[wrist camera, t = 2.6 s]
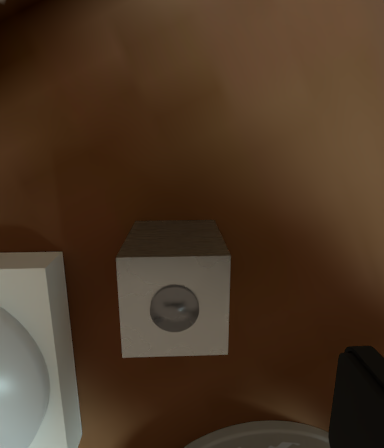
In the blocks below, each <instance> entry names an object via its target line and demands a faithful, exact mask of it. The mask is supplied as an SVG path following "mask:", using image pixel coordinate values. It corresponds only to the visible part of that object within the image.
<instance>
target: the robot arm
mask: <svg viewBox="0 0 384 448" xmlns="http://www.w3.org/2000/svg"><path fill="white" fill-rule="evenodd" d="M328 438H329V444H330V448H384V358H383V357H382V356H381V355H380V354H379V353H378V352H377V351H376V350H375V349H374V348H373V347H371V346H352V347H347V348H346V349H345V352H344V353H341V354H340V355H339V359H338V367H337V374H336V382H335V389H334V397H333V404H332V412H331V419H330V426H329V434H328Z"/></svg>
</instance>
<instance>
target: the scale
mask: <svg viewBox="0 0 384 448" xmlns="http://www.w3.org/2000/svg"><path fill="white" fill-rule="evenodd" d="M81 436H82V427H81V418H80V408H79V399H78V390H77V381H76V372H75V362H74V353H73V344H72V335H71V326H70V317H69V307H68V298H67V289H66V280H65V271H64V261H63V252H10V253H0V448H78V446H79V442H80V439H81Z"/></svg>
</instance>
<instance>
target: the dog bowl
mask: <svg viewBox="0 0 384 448" xmlns="http://www.w3.org/2000/svg"><path fill="white" fill-rule="evenodd" d="M328 434H329V433H328V432H326V431H324V430H322V429H319V428H316V427H313V426H310V425H306V424H301V423H296V422H289V421H255V422H247V423H242V424H237V425H233V426H229V427H226V428H222V429H220V430H217V431H214V432H212V433H209V434H207V435H205V436H203V437H201V438H199V439H197V440H195V441H193V442H191V443H190V444H188V445H186V446H185V447H184V448H330V444H329V438H328Z"/></svg>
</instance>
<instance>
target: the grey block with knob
mask: <svg viewBox="0 0 384 448" xmlns="http://www.w3.org/2000/svg"><path fill="white" fill-rule="evenodd" d="M230 266H231V255H230V253H229V251H228V249H227V246H226V244H225V242H224V240H223V238H222V235H221V233H220V231H219V229H218V227H217V225H216V222H215V220H167V221H135V223H134V225H133V226H132V228H131V230H130V232H129V234H128V236H127V238H126V240H125V241H124V243H123V245H122V247H121V249H120V251H119V253H118V254H117V256H116V269H117V284H118V299H119V314H120V330H121V345H122V358H130V357H164V356H198V355H228V335H229V301H230Z"/></svg>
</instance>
